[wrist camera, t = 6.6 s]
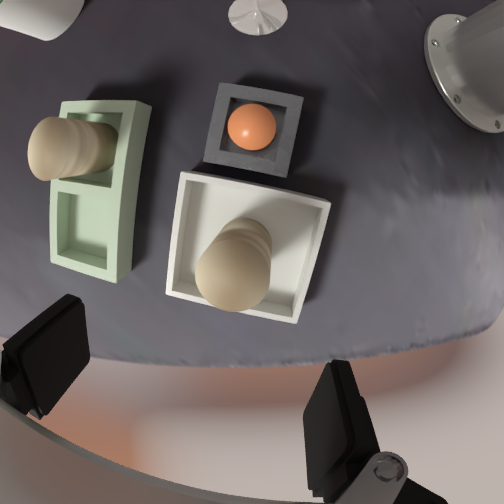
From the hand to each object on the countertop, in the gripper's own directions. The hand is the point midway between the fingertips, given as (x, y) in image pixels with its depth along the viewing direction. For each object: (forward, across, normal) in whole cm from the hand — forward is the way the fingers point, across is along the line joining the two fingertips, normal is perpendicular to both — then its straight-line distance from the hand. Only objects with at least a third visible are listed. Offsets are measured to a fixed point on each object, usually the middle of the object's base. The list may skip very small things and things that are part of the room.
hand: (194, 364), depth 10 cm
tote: (+15, 0, 0) cm, 15 cm away
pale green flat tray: (+15, +14, -3) cm, 21 cm away
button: (+14, +1, -9) cm, 17 cm away
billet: (+14, 0, 0) cm, 15 cm away
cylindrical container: (+15, +26, -22) cm, 37 cm away
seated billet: (+14, +14, -6) cm, 21 cm away
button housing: (+15, +1, -10) cm, 18 cm away
